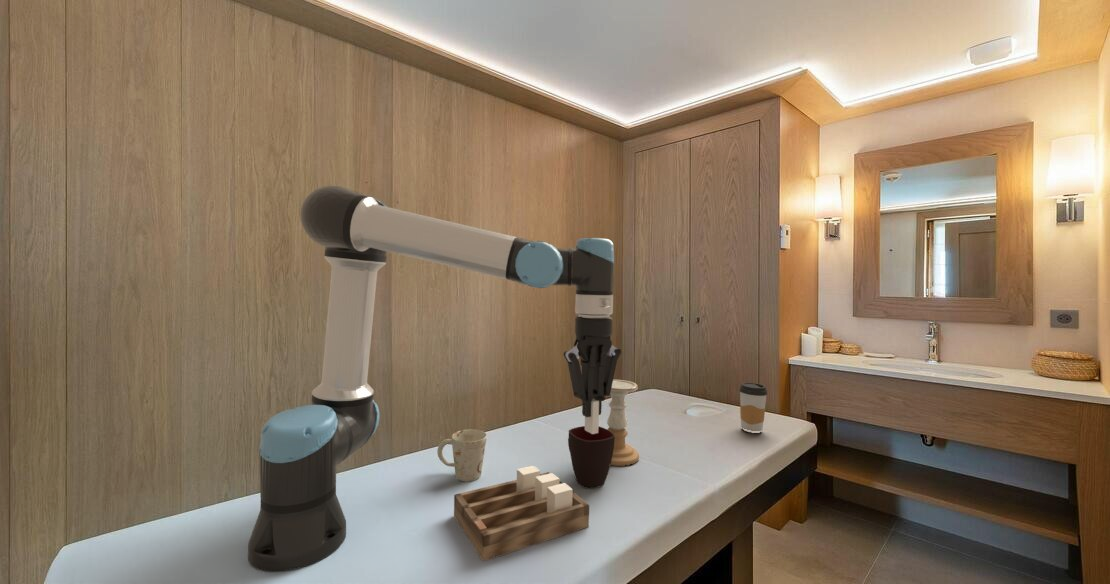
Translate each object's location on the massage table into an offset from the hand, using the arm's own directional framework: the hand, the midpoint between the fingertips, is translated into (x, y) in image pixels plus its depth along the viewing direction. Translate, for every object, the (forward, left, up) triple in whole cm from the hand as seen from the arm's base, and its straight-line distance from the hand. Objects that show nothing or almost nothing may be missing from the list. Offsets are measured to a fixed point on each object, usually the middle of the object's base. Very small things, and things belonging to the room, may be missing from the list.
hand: (591, 431), depth 89 cm
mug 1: (-17, +30, -18) cm, 39 cm away
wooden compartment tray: (-13, +5, -18) cm, 23 cm away
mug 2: (+9, +14, -18) cm, 24 cm away
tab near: (-7, 0, -15) cm, 17 cm away
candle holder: (+24, +21, -18) cm, 37 cm away
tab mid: (-7, +5, -15) cm, 17 cm away
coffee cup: (+77, +17, -18) cm, 81 cm away
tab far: (-9, +10, -15) cm, 20 cm away
